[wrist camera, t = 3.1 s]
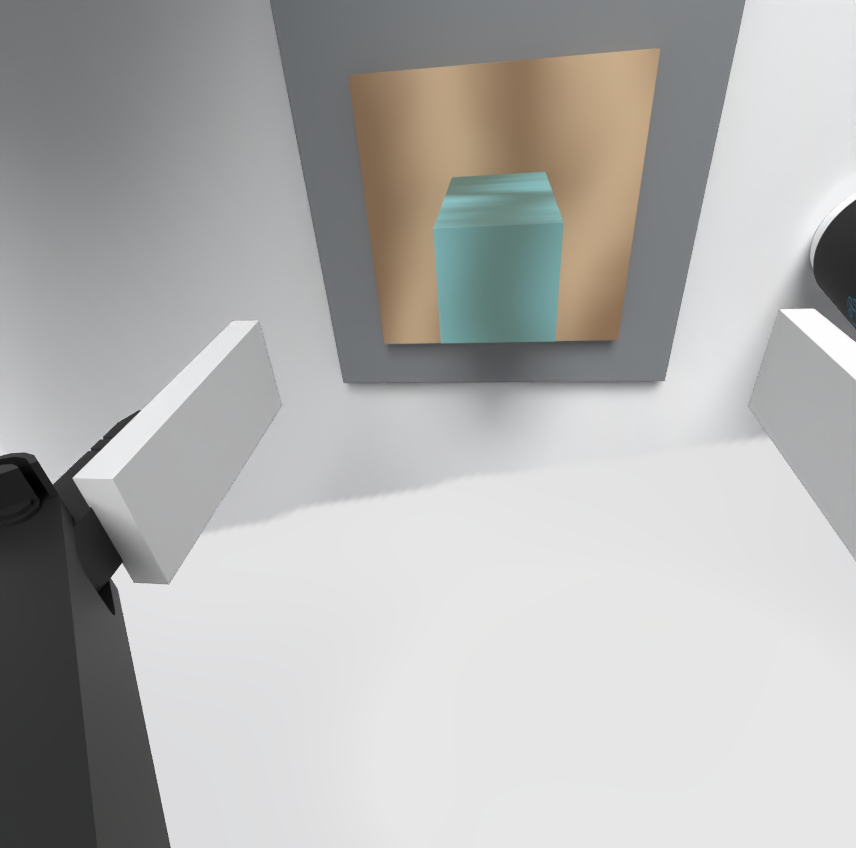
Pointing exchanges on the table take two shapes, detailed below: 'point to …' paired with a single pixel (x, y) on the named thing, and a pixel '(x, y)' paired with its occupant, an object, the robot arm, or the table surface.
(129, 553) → the robot arm
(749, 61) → the table surface
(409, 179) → the lid
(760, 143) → the table surface
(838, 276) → the dixie cup
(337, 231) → the mat
